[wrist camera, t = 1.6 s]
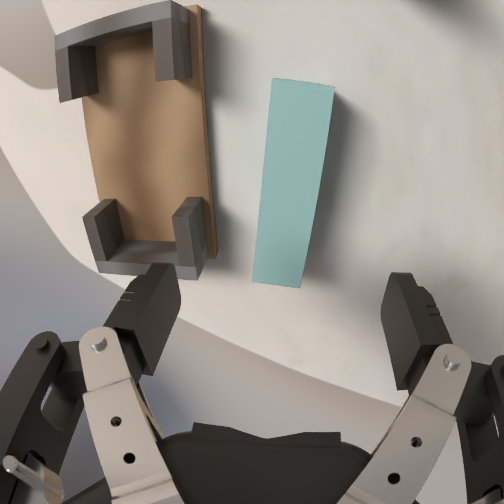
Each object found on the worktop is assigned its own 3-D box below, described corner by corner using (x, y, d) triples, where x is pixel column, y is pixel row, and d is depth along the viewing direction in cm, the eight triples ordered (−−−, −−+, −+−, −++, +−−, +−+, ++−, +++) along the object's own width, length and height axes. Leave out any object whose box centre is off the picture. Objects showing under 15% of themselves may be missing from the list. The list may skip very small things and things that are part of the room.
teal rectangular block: (326, 84, 19) (334, 87, 15) (299, 255, 27) (299, 288, 23) (276, 78, 19) (272, 78, 16) (258, 249, 27) (252, 281, 23)
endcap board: (200, 7, 17) (179, -7, 13) (217, 252, 27) (205, 284, 23) (84, 35, 18) (49, 34, 14) (117, 247, 28) (95, 275, 25)
